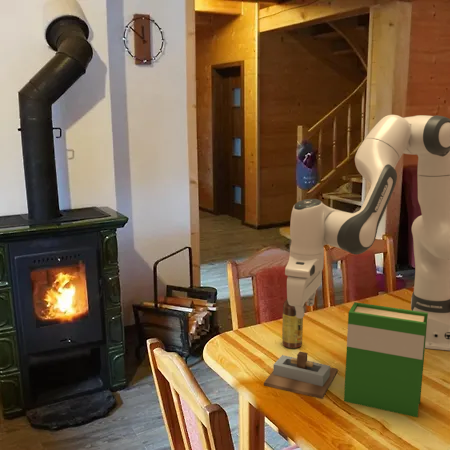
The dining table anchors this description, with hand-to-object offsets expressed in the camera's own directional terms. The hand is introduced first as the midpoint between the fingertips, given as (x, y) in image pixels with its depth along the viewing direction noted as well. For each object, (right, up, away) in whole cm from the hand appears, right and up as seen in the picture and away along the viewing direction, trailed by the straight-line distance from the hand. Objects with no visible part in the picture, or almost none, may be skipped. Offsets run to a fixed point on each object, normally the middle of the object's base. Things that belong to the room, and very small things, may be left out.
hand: (305, 311), depth 146 cm
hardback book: (+18, -22, -8) cm, 30 cm away
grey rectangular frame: (-1, -18, +3) cm, 18 cm away
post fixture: (-1, -19, +3) cm, 19 cm away
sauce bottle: (-1, -14, +24) cm, 28 cm away
